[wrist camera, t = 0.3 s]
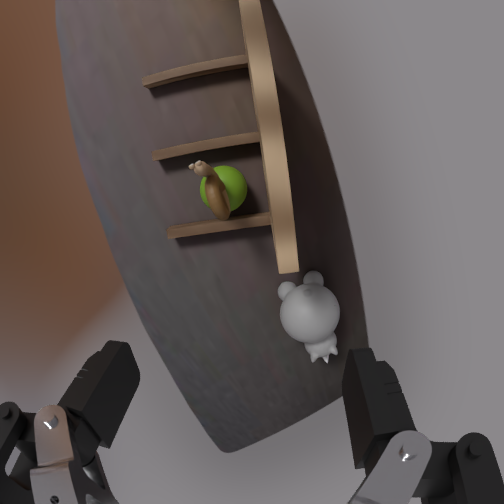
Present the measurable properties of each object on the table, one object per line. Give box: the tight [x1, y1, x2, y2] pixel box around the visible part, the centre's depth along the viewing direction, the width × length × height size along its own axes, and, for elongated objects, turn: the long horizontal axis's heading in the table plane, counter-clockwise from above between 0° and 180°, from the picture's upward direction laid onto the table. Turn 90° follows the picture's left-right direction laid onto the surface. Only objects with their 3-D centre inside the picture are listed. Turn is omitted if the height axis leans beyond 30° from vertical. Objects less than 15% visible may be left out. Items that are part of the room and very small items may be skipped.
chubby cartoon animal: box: [278, 271, 340, 363], centre depth 37 cm, size 8×12×9 cm, turn 20°
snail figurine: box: [189, 160, 247, 220], centre depth 30 cm, size 5×6×12 cm
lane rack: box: [142, 0, 299, 274], centre depth 26 cm, size 22×14×16 cm, turn 8°
